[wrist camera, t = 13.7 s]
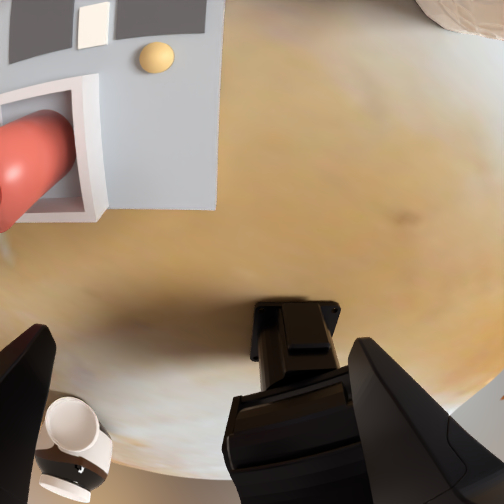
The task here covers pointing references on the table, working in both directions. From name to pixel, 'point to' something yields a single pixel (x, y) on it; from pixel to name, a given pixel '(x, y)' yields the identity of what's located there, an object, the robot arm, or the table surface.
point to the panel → (119, 99)
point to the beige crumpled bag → (467, 16)
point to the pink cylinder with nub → (32, 161)
